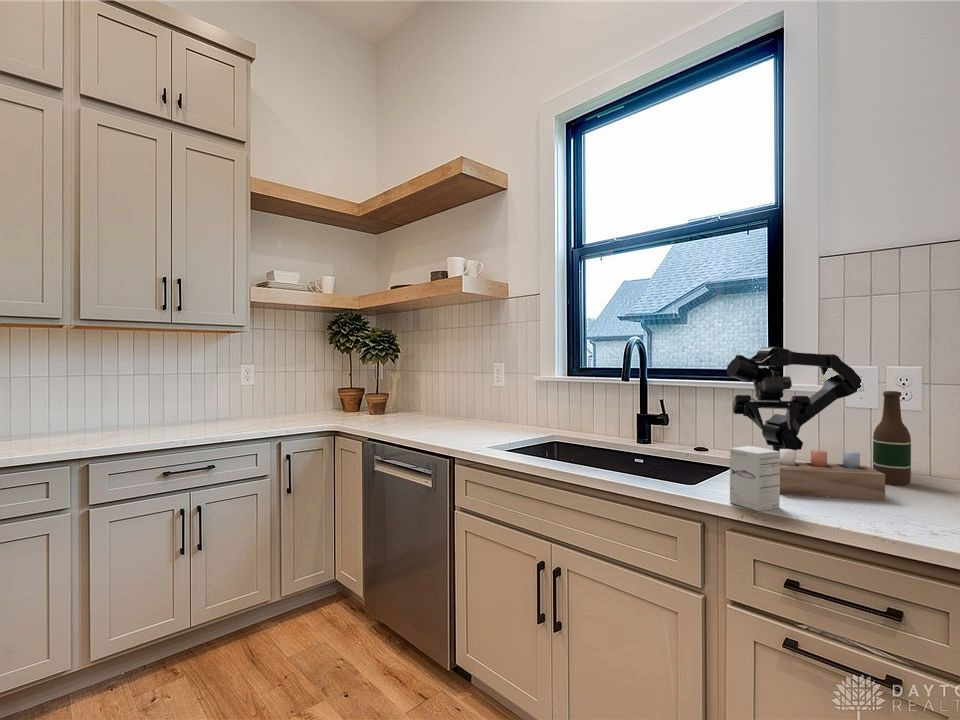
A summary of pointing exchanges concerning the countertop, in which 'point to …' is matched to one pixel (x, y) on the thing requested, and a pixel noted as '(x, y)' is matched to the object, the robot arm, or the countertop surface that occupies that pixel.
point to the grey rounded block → (851, 460)
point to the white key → (787, 457)
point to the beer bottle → (892, 443)
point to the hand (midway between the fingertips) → (776, 428)
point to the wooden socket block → (832, 481)
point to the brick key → (818, 458)
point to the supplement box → (755, 477)
